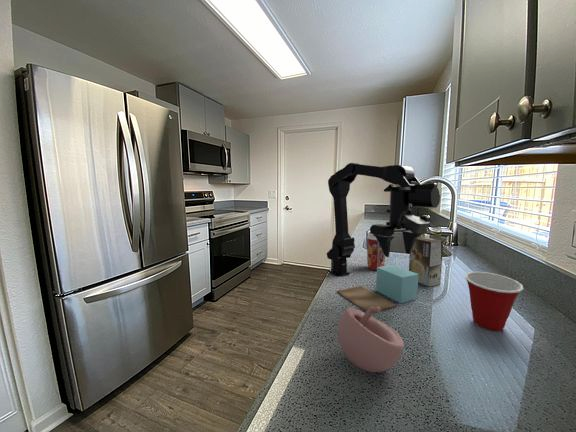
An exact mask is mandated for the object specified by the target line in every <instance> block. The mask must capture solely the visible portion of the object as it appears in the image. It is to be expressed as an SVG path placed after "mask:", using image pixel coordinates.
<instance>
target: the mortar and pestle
mask: <svg viewBox="0 0 576 432" xmlns="http://www.w3.org/2000/svg"><path fill="white" fill-rule="evenodd" d="M380 310H381V308H380V307H373V306H371V307H370V308H369V309H368V310H367V312H366V311H362V310H360V309H357V308H354V307H349V306H348V307H346V308H345V309H344V311H343V313H342V314H341V316H340V318H339V319H338V324H337V339H338V343H339V346H340V348H341V350H342V352H343V354H344V355H345V357H346V358H347V359H348V360H349V361H350V362H351V364H353V365H354V366H356V367H358V368H359V369H361V370H364V371H367V372H370V373H381V372H386V371H387V370H391V369H392V368H393V367H394V366H395V365H396V364H398V362H399V360H400V359H401V357H402V355H403V353H404V350H405V349H404V348H405V342H404V340H403V338H402V336H400V334H399V333H398V332H397V331H396V330H395V329H394V328H393V327H391V326H389V325H388V324H386V323H384V322H383V321H380V320H379V319H378V318H375V317H374V316H373V315H374V314H375V313H380V312H381V311H380Z"/></svg>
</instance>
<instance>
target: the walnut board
mask: <svg viewBox="0 0 576 432" xmlns="http://www.w3.org/2000/svg"><path fill="white" fill-rule="evenodd" d="M336 293H338V294H339V295H340V296H342V297H344V298H345V299H346V300H348V301H349V302H350V303H352V304H354V305H355V306H357V307H358V308H360V309H362V310H363V312H365V313H366V312H367V310H368V309H369V308H370V307H371V306H373V307H380V308H381V310H380V312H383V311H386V310H391V309H393V308H397V304H396V303H393V302H391V301H390V300H388V299H386V298H385V297H383V296H380V295H379V294H377V293H375V292H373V291H372V290H369V289H367V288H365V287H363V286H362V285H358V286H353V287H350V288H344V289H343V288H342V289H340V290H339V289H338V290H336Z"/></svg>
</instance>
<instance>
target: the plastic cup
mask: <svg viewBox="0 0 576 432" xmlns="http://www.w3.org/2000/svg"><path fill="white" fill-rule="evenodd" d="M464 278H465V279H466V282H467V286H468V290H469V300H470V308H471V313H472V320H473V323H474V324H475V325H476V326H479V327H481V328H482V329H484V330H489V331H491V332H492V331H493V332H494V331H495V332H501V331H503V330H504V328H505V326H506V324H507V321H508V319H509V317H510V315H511V311H512V308H513V306H514V304H515V302H516V299H517V297H518V295H519V293H521V292H522V291H523V290H524V286H523V284H522V283H520V282H519V281H518V280H515V279H513V278H510V277H508V276H505V275H501V274H498V273H493V272H492V273H491V272H487V271H469V272H467V273H465V277H464Z"/></svg>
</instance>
